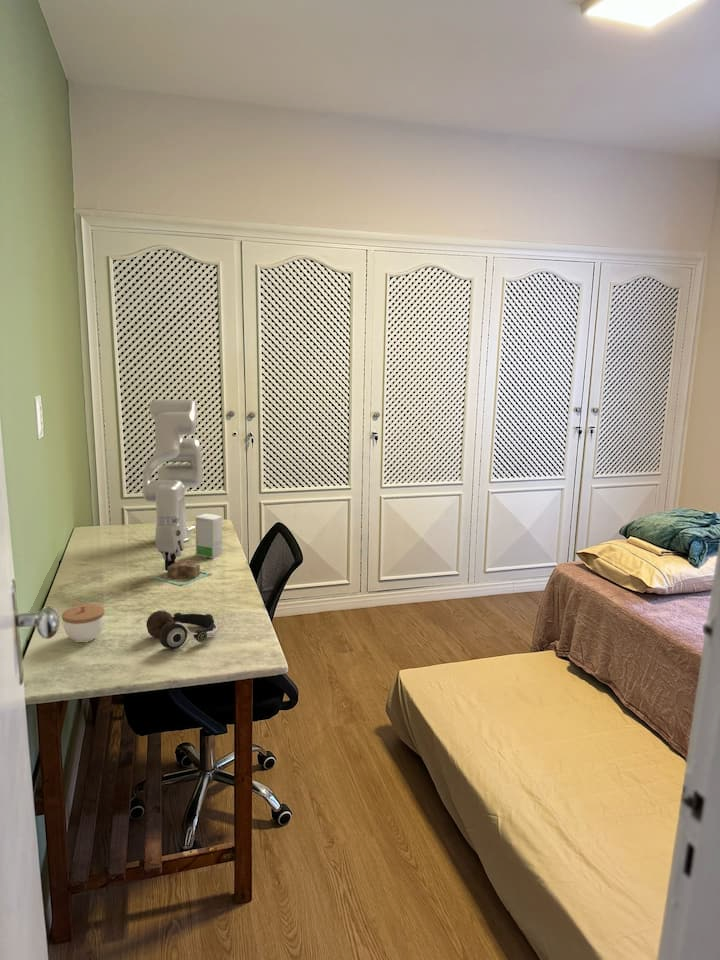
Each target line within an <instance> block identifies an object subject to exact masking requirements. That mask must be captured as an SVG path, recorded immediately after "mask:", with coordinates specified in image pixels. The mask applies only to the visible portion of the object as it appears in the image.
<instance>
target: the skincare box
mask: <svg viewBox="0 0 720 960" xmlns="http://www.w3.org/2000/svg"><path fill="white" fill-rule="evenodd" d="M220 554H221V555H222V554H223V516H222V515H217V514H212V513H211V514H210V513H203V514H200V515H196V516H195V556H196V555H197V556H196V557H201V556H203V557H202V558H207V557H210V558H209V559H212V558H213V559H215V558H217V557H219V556H221V555H220ZM218 555H219V556H218ZM216 556H217V557H216ZM214 557H215V558H214Z"/></svg>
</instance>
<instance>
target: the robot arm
mask: <svg viewBox="0 0 720 960" xmlns="http://www.w3.org/2000/svg"><path fill="white" fill-rule="evenodd" d="M148 408H149V414H150V416H151V417H152V419H153V421H154V432H155V433H154V438H155V442H154V443H155V447H154V448H155V449H154V450H155V451H154V454H153V455H152V457H150V458H149V460H148V461H147V462H146V464H145V466H144V468H143V473H142V496H143V499H144V500H145V501H147V502H151V503H153V502H154V503H155V508H156V509H155V511H156V527H155V547H156V549H157V552H159V553H161V555H162V557H163V558H162V559H163V560H164V569H165V571H166V572H168V568H167V567H168V566H170V565H172V564H174V563H176V560H177V557H178V558H179V557H182V552H183V551H184V550H185V543H186V542H188V541H190V540H191V535H190V534H189V533H191V532H193V531H196V526H194V525H193V526H189V527H188V526H187V516H186V515H187V514H186V513H187V511H186V510H187V509H186V497H185V493H186V488H196V487H199V486H201V485H202V482H203V462H202V460H203V459H202V447H201V443H200V441H199V439H196V438H190V437H189V438H186V437H185V438H183V437H182V435H193V434H194V433H195V432H196V430H197V418H198V417H197V415H198V414H197V413H198V412H197V411H198V410H197V404H196V402H195V401H194V400H192V399H155V400H152V401H150V403H149V407H148ZM166 462H167V463H169V464H164V463H166ZM170 463H171V464H170ZM173 463H174V464H173ZM162 464H164V465H162ZM160 465H161V466H160ZM158 466H160V467H159V468H158ZM156 468H158V470H157V479H156V480H152V473H153V471H154V470H155V469H156Z"/></svg>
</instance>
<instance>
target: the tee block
mask: <svg viewBox="0 0 720 960" xmlns="http://www.w3.org/2000/svg"><path fill="white" fill-rule="evenodd" d="M190 561H191V560H190V559H186V558H185V559H184V558H182V559H180V560H177V561H175V563H174V564H172V565H170V566H168V567H167V568H168V571H167V579H174V580H176V579H178V578H180V577H183V576H185V577H184V578H189V577H191V578H192V579H196V577H197V578H198V577H200V576H201V573H200V571H201V570H200V569H201V567H200V566H201V565H200V564H197V563H191V562H190ZM199 575H200V576H199ZM179 576H180V577H179ZM191 578H190V579H191Z"/></svg>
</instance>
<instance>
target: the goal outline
mask: <svg viewBox="0 0 720 960" xmlns="http://www.w3.org/2000/svg"><path fill="white" fill-rule="evenodd" d="M200 572H201V573H200V574H203V575H200V576H198V577H197V578H192V579H191V580H188V581H186V582H184V583H179V582H175V581H173V580H168V579H165V578H162V577H158V576H153V579H157V580H160V581H162V582H166V583H170V584H173V585H176V586H179V587H183V586H186V585H187V584H190V582H191V583H193V582H196V581H198V580H201V579H203V578H205V576H206V577H209V576H211V575H210V574H211V573H210V572H205V571H202V570H200ZM204 573H205V574H204ZM208 575H209V576H208ZM202 577H203V578H202ZM200 578H201V579H200ZM197 579H198V580H197ZM195 580H196V581H195ZM192 581H193V582H192ZM185 584H186V585H185Z"/></svg>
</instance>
